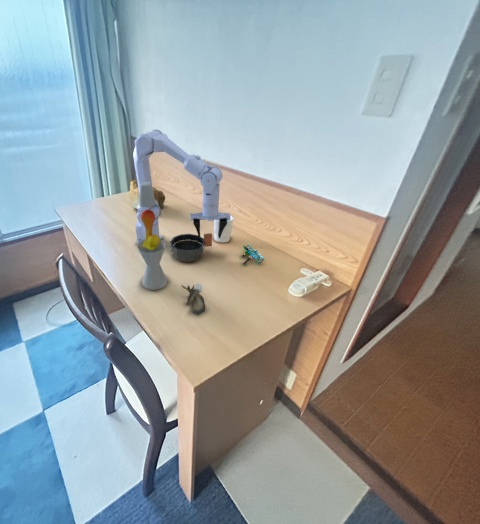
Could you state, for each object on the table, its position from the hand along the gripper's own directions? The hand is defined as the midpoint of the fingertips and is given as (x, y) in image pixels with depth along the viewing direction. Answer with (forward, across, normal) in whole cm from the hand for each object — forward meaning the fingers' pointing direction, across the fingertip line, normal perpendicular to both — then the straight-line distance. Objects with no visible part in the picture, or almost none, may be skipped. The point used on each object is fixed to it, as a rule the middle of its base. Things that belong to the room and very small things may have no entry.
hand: (209, 236), depth 108 cm
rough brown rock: (+8, -29, +46) cm, 55 cm away
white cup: (+8, +6, +12) cm, 16 cm away
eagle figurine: (+8, -6, -30) cm, 31 cm away
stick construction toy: (+8, +15, -4) cm, 17 cm away
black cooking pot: (+7, -7, -1) cm, 10 cm away
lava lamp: (+8, -20, -18) cm, 28 cm away
